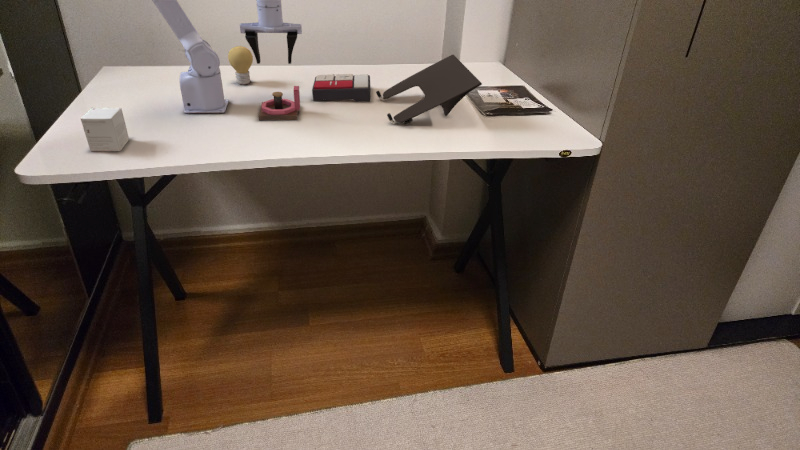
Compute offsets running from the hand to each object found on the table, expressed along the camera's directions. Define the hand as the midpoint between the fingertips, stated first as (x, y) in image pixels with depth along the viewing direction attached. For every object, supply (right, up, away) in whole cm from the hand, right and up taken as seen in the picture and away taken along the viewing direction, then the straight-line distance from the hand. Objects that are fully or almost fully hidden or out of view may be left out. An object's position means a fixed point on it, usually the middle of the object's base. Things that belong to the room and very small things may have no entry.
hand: (274, 62), depth 132 cm
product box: (-30, -24, -21) cm, 44 cm away
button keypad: (+16, -6, +10) cm, 20 cm away
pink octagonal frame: (+2, -12, -3) cm, 13 cm away
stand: (+2, -13, -3) cm, 14 cm away
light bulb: (-12, -2, +14) cm, 18 cm away
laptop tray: (+37, -12, +3) cm, 39 cm away
